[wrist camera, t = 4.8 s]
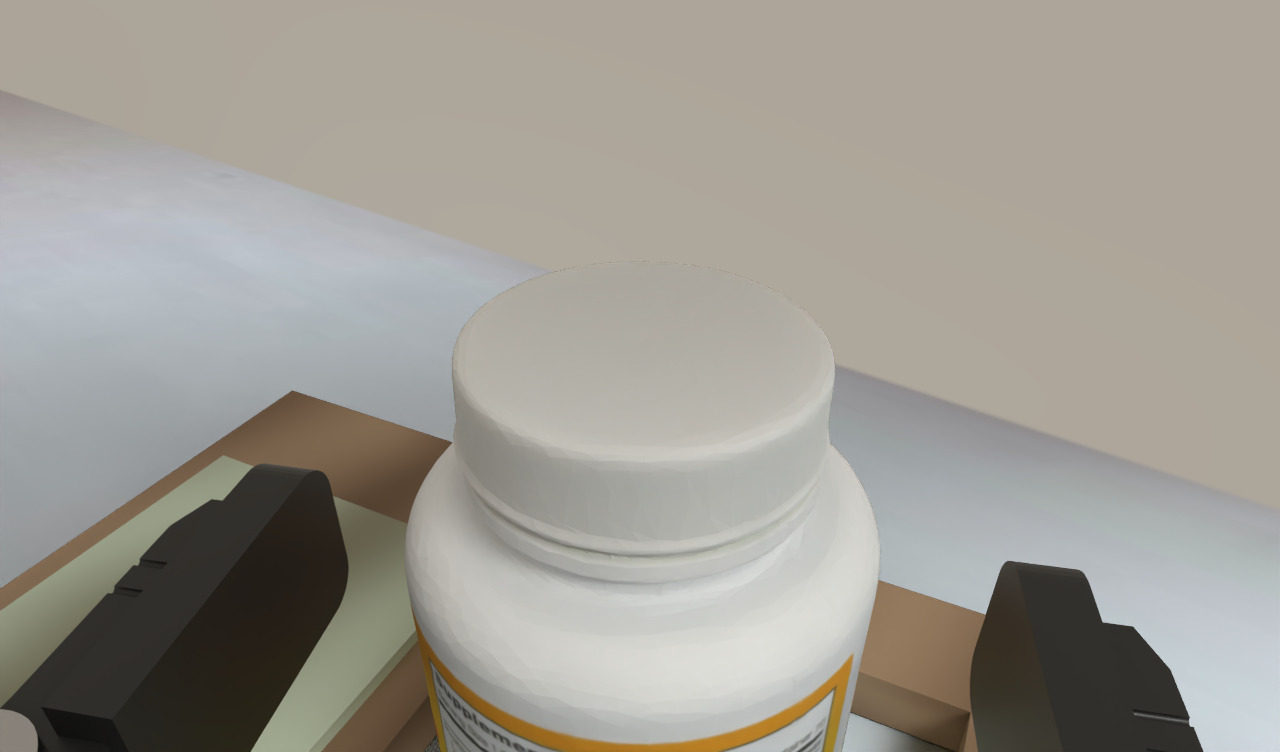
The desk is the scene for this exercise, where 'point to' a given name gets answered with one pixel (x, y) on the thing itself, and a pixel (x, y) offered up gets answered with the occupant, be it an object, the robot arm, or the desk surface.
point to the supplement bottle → (642, 523)
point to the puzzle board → (379, 598)
